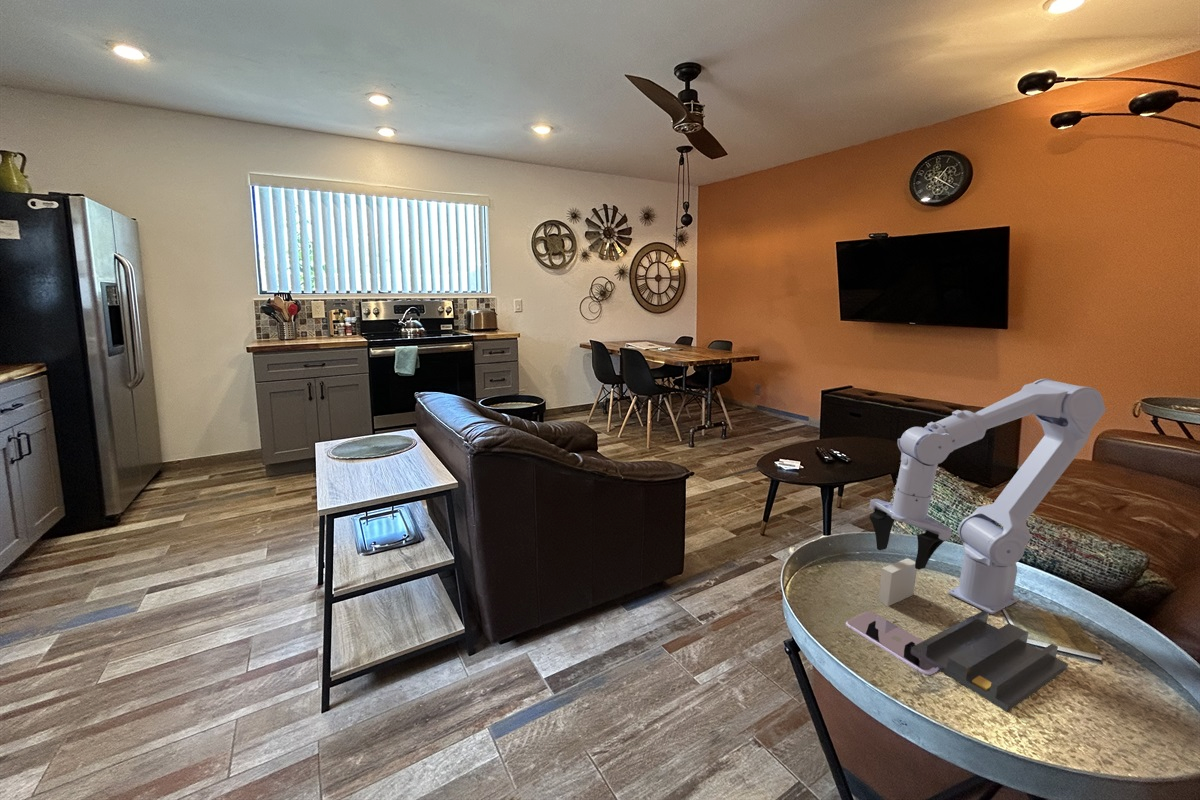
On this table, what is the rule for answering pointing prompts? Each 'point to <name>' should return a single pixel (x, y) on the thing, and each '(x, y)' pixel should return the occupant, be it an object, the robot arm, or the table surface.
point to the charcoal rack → (992, 660)
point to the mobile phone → (891, 640)
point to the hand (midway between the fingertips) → (900, 558)
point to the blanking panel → (897, 581)
